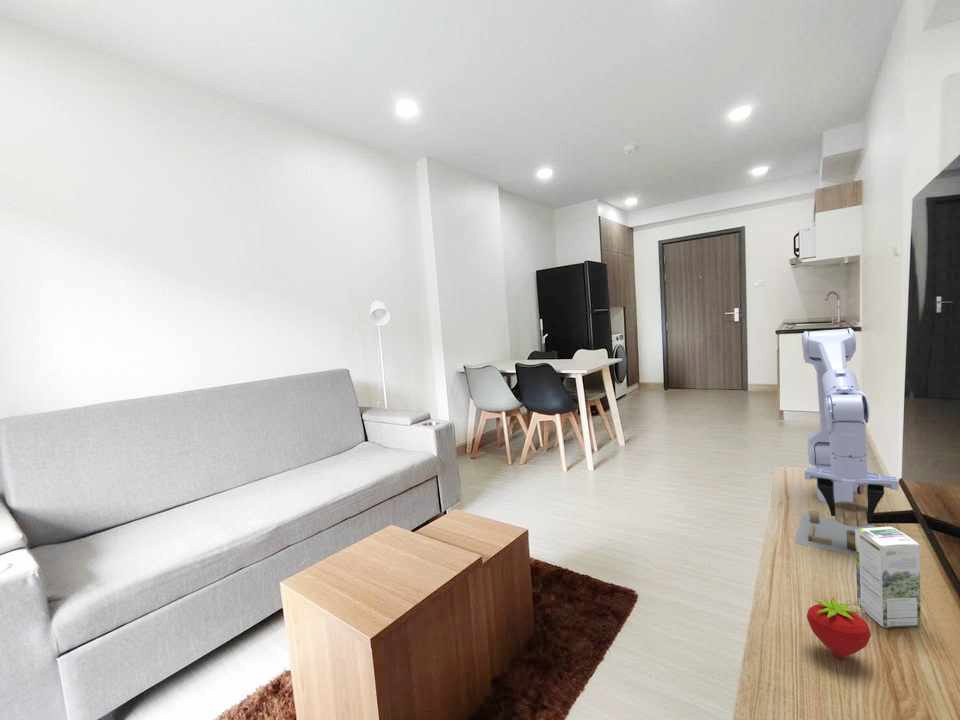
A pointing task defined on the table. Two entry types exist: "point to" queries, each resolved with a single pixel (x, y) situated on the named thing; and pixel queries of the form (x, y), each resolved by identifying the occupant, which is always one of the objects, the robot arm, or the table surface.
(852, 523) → the ring
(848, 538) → the end peg
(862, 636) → the strawberry
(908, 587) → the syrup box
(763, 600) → the table surface
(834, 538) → the board
